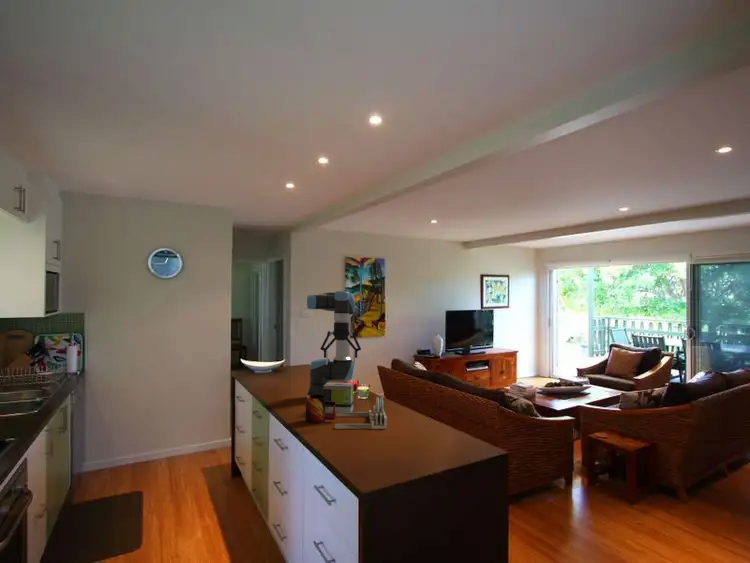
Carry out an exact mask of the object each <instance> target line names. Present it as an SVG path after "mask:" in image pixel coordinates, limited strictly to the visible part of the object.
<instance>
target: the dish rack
mask: <svg viewBox="0 0 750 563" xmlns="http://www.w3.org/2000/svg"><path fill="white" fill-rule="evenodd" d="M372 406H373V408H372V409H373V411H372V410H371V409H369V410H368V411H352V412H336V413H335V418H336V417H338V418H341V417H343V418H345V417H352V418H353V417H355V418H356V417H358V418H359V417H360V418H362V417H364V418H365V417H367V418H368V419H369V423H335V425H334V426H335V428H334V429H335V430H336V429H337V430H340V429H341V430H342V429H343V430H345V429H347V430H348V429H350V430H351V429H352V430H353V429H355V430H356V429H357V430H361V429H363V430H364V429H365V430H367V429H370V430H373V429H376V430H377V429H380V430H382V429H384V430H385V429H387V428H388V426H387V422H388V417H387V415H386V412H385V410H384V398H383V396H380V398H379V397H378V396H376V398H375V405H372Z"/></svg>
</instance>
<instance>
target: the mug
mask: <svg viewBox="0 0 750 563" xmlns="http://www.w3.org/2000/svg"><path fill="white" fill-rule="evenodd" d="M335 403H336V402H334V401H326V396H324V395H308V396H307V395H306V396H305V423H306V424H310V425H319V424H323V423H325V422H326V420H327V421H336V413H335ZM326 405H333V413H332V415H331V416H330V415H326V413H325V406H326Z"/></svg>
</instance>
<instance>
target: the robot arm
mask: <svg viewBox="0 0 750 563" xmlns="http://www.w3.org/2000/svg"><path fill="white" fill-rule="evenodd" d="M306 298H307V300H306V308H307V309H308V310H321V311H328V312H333V320H334V322H333V331H330V330H328V331H327V332H326V333H327V334H326V337H325V338H324V341H323V343H322V344H321V346H320V348H319V349H320V350H321V351H322V352H323V358H321V359H315V360H312V361H311V362H310V368H309V370H310V373H309V375H310V376H309V387H308V389H307V392H306V396H308V395H323V386H324V385H325V384H326V383H330V382H334V381H335V382H347V381H352V380H353V379H352V378H353V375H354V367H355V365H356V359H357V358H358V352H360V351H361V350H362V348H361V345H360V343H359V342H358V339H357V337H356V332H355V331H351V318H352V316H353V315H354V313H355V312H356V301H355V294H353V293H352V292H349V291H345V290H344V291H343V290H336V291H335V292H330V291H329V292H322V293H319V294H309V295H308V296H306ZM332 335H333V338H332V340H330V342H329V343H327V342H328V340H329V338H330V337H331V336H332ZM351 337H352V338H353V340H354V343H355V345H356V346H355V345H354V343H353V342H352V341H351ZM334 342H336V343H335V356H334V357H333V359H332V361H330V359H329V358H328V356H329V352H328V349H329V348H330V347H331V346H332V345H333V344H334ZM326 344H327V345H326ZM356 347H357V348H356ZM351 348H352V349H353V350H352V351H353V352H352V353H353V358H352V357H351V356H350V355H351V354H350V353H351V352H350V351H351Z"/></svg>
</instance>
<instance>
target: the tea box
mask: <svg viewBox="0 0 750 563" xmlns="http://www.w3.org/2000/svg"><path fill="white" fill-rule="evenodd" d="M323 395H324V396H326V401H334V402H336V403H335V414H336V412H354V411H353V410H354V382H353V383H352V382H329V383H326V384H325V385H324V386H323ZM325 414H333V405H326V406H325Z"/></svg>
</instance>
